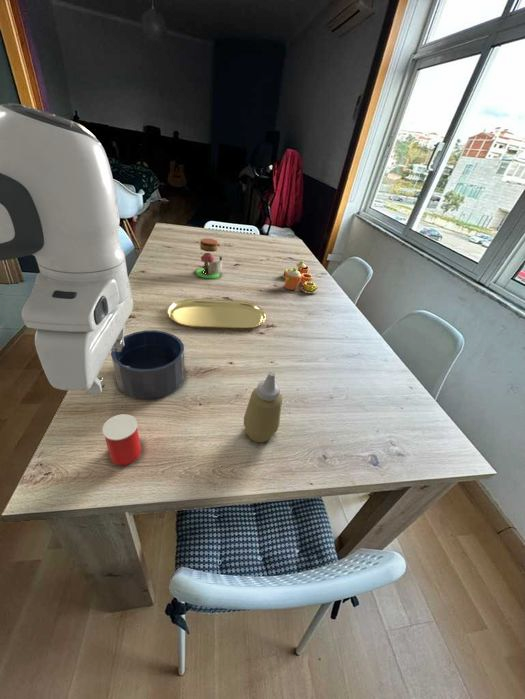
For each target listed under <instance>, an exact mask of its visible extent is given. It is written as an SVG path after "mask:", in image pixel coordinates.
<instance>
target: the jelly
mask: <svg viewBox="0 0 525 699" xmlns="http://www.w3.org/2000/svg"><path fill="white" fill-rule="evenodd" d="M137 421H138V420H137V419H136V418H135V417H134V416H132V415H131V414H127V413H120V414H117V415H113V416H112V417H110V418H109V419H108V420H107V421H105V422H104V423H103V425H102V434H103V436H104V439H105V443H106V447H107V450H108V454H109V458H110V461H111V462H112V463H113V464H115V465H118V466H127V465H130V464H132V463H134V462H135V461H136V460H137V459H138V458H139V457H140V456H141V452H142V446H141V442H140V435H139V430H138V422H137Z"/></svg>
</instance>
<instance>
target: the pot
mask: <svg viewBox="0 0 525 699" xmlns="http://www.w3.org/2000/svg"><path fill="white" fill-rule="evenodd" d="M110 358H111V362H112V366H113V371H114V376H115V381H116V383H117V386H118V388H119V390H120V391H121V392H122V393H123V394H125V395H126V396H128V397H130V398H134V399H137V400H155V399H161V398H164V397H166V396H168V395H170V394H172V393H174V392H175V391H176V390H178V389H179V388H180V387H181V385H182V384H183V382H184V380H185V376H186V374H185V370H186V369H185V344H184V343H183V341H182V340H181V338H179V337H178V336H177V335H175V334H172V333H170V332H167V331H163V330H157V329H151V330H149V329H148V330H147V329H145V330H141V331H135V332H132V333H129V334H126V335H124V347H123V349H122V351H121V352H117V351H115V352H114V351H110Z"/></svg>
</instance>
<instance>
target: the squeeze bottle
mask: <svg viewBox="0 0 525 699" xmlns="http://www.w3.org/2000/svg"><path fill="white" fill-rule="evenodd" d="M282 405H283V396H282V394H281V387H280V385H279V384H278V383H277V382H276V373H275V372H274V371H270V372H268V374H267V376H266V378H265V379H263V380H261V381H259V382H258V384H257V386H256V387H255V388H254V389H253V390H252V392H251V394H250V397H249V400H248V404H247V406H246V409H245V412H244V416H243V425H244V429H245V431H246V434H247V436H248V437H249V439H250V440H252V441H254V442H256V443H264V442H267V441H269V440H270V439H271V438H272V437H273V436H274V435H275V434H276V433H277V432H278V430H279V427H280V422H281V413H282Z"/></svg>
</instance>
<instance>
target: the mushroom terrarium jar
mask: <svg viewBox="0 0 525 699" xmlns="http://www.w3.org/2000/svg"><path fill="white" fill-rule="evenodd" d="M218 244H219V242H218V241H217V240H216V239H214V238H207V237H206V238H201V239H200V248H199V249H200V250H201V251H204V253H203V255H201V256H200V260H201V262H203V263H204V264H203V265H202V267H201V268H199V269H197V270H196V271H195V274H196V276H198V277H199V278H203V279H209V280H210V279H211V280H212V279H217V278H219V277H220V275H221V272H222V271H223V257H222V256H221V255H219V261H215V256H214V255H213V254H212V253H214V252H217V251H218V248H219V247H218V246H219V245H218ZM204 270H205V271H204ZM203 271H204V273H203ZM205 273H206V274H205Z"/></svg>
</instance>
